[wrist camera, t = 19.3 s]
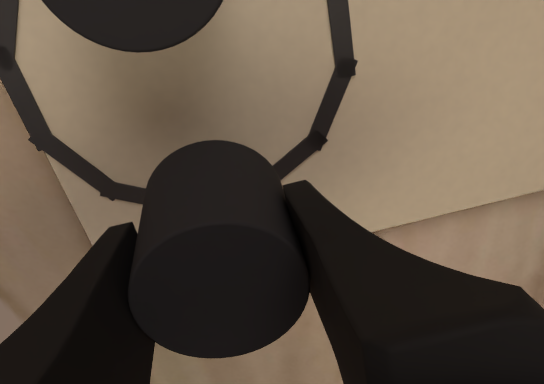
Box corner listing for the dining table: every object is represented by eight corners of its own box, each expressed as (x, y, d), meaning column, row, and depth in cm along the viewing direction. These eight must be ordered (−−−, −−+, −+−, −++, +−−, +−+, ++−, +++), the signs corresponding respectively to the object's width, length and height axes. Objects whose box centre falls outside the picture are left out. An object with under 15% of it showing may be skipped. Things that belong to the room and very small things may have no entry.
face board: (114, 282, 19) (111, 298, 18) (-154, -248, 10) (-182, -260, 10) (602, 163, 19) (619, 173, 18) (726, -445, 11) (767, -473, 10)
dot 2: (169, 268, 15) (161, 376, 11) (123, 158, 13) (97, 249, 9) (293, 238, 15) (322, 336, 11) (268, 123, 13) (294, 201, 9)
